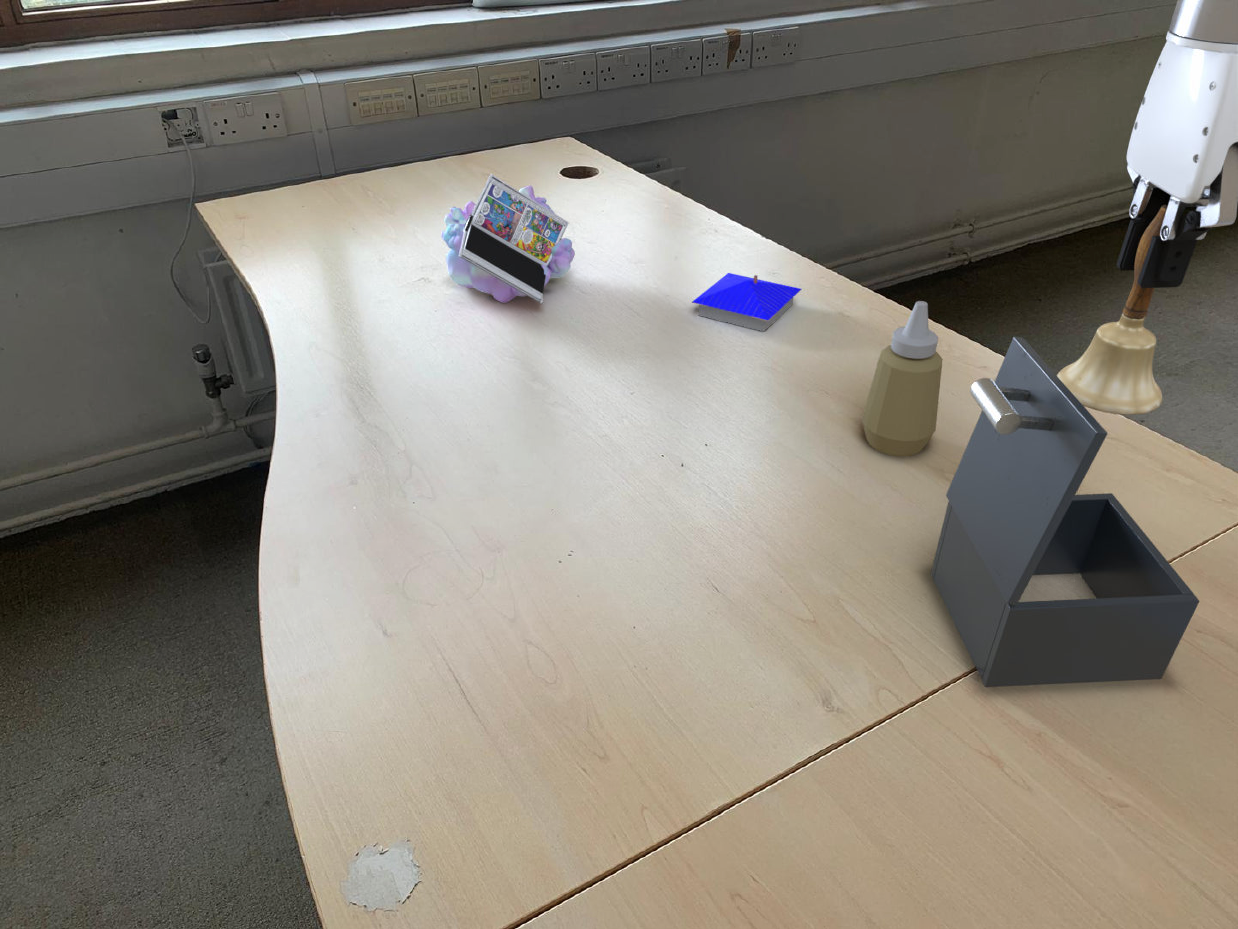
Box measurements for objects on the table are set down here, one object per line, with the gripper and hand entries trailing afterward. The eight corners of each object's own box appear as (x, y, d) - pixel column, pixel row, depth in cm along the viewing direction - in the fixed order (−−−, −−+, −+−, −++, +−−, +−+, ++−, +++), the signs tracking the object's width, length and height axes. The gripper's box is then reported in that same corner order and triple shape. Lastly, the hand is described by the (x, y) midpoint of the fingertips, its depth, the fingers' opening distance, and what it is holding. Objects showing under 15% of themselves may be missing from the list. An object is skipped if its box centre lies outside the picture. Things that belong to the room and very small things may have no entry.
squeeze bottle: (920, 476, 98) (952, 327, 88) (848, 456, 102) (871, 310, 91) (938, 440, 104) (970, 296, 94) (869, 422, 107) (893, 281, 97)
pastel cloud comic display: (516, 217, 153) (464, 137, 138) (617, 238, 141) (573, 154, 127) (452, 311, 147) (391, 239, 133) (553, 341, 136) (498, 265, 121)
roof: (766, 335, 126) (770, 299, 123) (691, 316, 131) (692, 282, 128) (800, 303, 134) (803, 269, 131) (727, 286, 139) (729, 253, 136)
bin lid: (1023, 337, 70) (962, 330, 69) (1108, 433, 59) (1037, 426, 58) (954, 496, 79) (899, 491, 78) (1016, 605, 68) (954, 601, 67)
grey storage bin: (1081, 575, 85) (1112, 493, 79) (1157, 687, 74) (1200, 601, 68) (928, 582, 85) (948, 499, 79) (982, 696, 73) (1010, 609, 68)
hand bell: (1181, 395, 76) (1254, 209, 67) (1125, 426, 72) (1194, 233, 63) (1091, 358, 81) (1146, 181, 72) (1034, 385, 78) (1085, 202, 69)
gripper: (1378, 41, 53) (1256, 322, 64) (1222, -1, 67) (1142, 237, 77) (1252, 44, 53) (1152, 325, 64) (1121, 1, 66) (1056, 240, 77)
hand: (1147, 275), depth 70 cm, fingers closed on hand bell, 2 cm apart
